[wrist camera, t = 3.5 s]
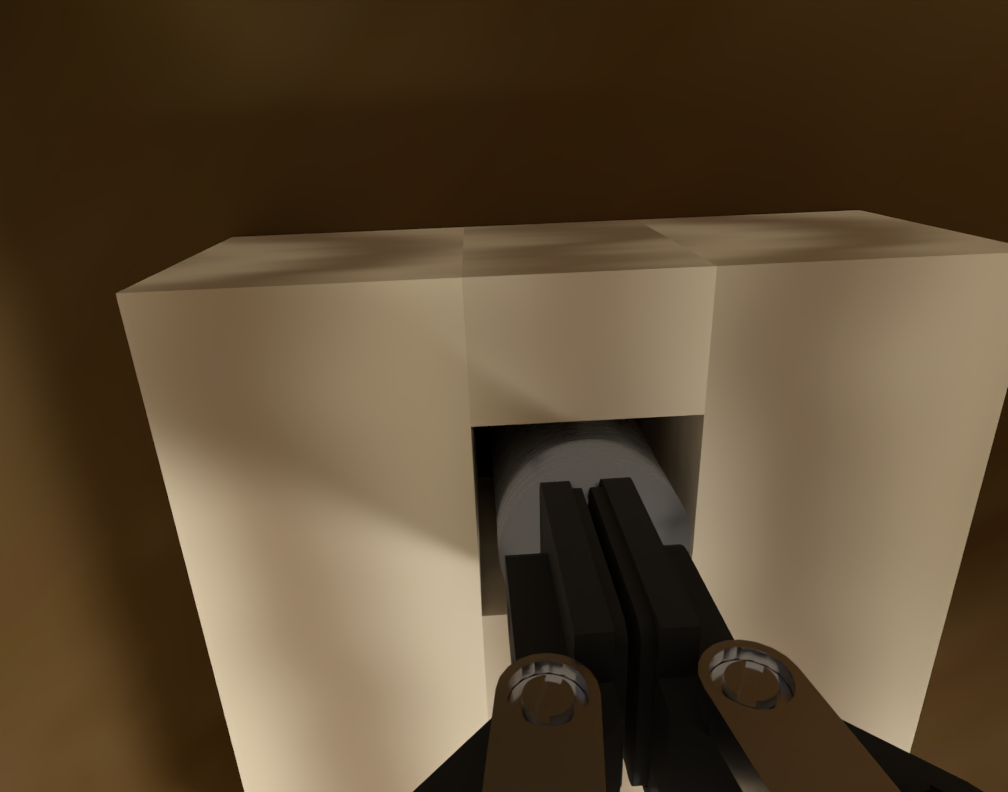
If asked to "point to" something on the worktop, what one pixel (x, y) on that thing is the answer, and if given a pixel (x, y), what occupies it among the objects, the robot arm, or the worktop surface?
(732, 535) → the maple block
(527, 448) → the peg
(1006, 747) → the worktop surface
